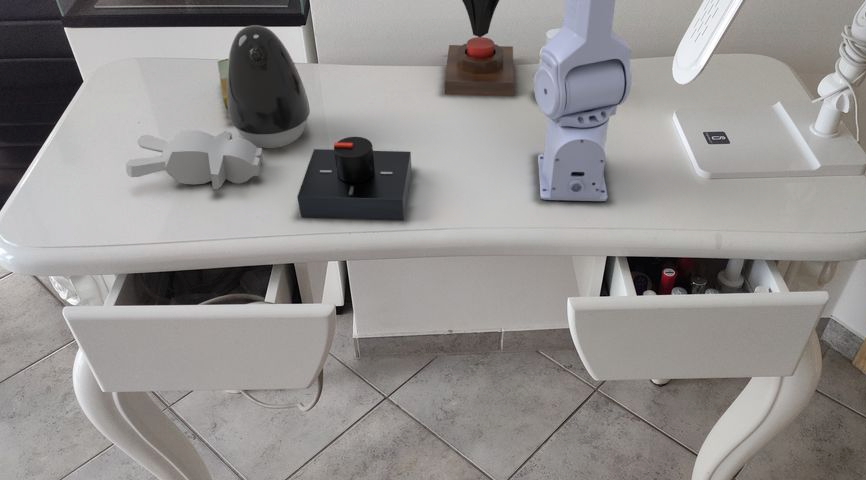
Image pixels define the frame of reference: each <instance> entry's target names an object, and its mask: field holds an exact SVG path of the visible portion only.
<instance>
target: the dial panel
mask: <svg viewBox="0 0 866 480" xmlns="http://www.w3.org/2000/svg"><path fill="white" fill-rule="evenodd" d="M373 157H374V168H375V173H374V175H373V177H372V178H370V179H369V180H367V181H364V182H361V183H348V182H345V181H343V180H341V179H340V178H339V177H338V175H337V168H336V161H335V153H334V149H328V148H327V149H326V148H324V149H323V148H314V149H313V151H312V154H311V157H310V160H309V162H308V165H307V168H306V170H305V174H304V176H303V179H302V182H301V185H300V188H299V191H298V192H297V193H298V194H297V197H296V199H297V202H298V208H299V213H300V217H301V218H312V219H313V218H314V219H347V220H377V221H379V220H380V221H383V220H384V221H385V220H386V221H404V220H405V216H406V209H407V204H408V197H409V192H410V191H409V190H410V186H411V178H412V172H413V168H412V167H413V166H412V152H411V151H402V150H399V151H398V150H373Z"/></svg>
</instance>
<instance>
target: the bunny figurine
mask: <svg viewBox="0 0 866 480" xmlns="http://www.w3.org/2000/svg"><path fill="white" fill-rule="evenodd" d="M232 134H233V133H232V132H229V131H223V132H221V133H219V134H217V135H215V136H213V135H211V134H209V133H208V132H205V131H200V130H191V129H189V130H181V131H179V132H178V133H177V134H176V135H174V137H172V138H171V139H170V140H169V141H166V140H163V139H162V138H158V137H155V136H153V135H149V134H145V135H144V134H143V135H141V136H140V137H139V138H137V144H138V146H139V148H141V149H144V150H149V151H154V152H157V153H161V154H160V156H149V157H139V158H133V159H129V160H128V161H127V160H126V162H125V167H126V168H125V169H126V175H127V176H128V177H130V178H139V177H143V176H147V175H151V174H154V173H158V172H162V171H165V172H166V174H168V175H169V176H171V177H172V178H173V179H174V180H175V181H176V183H178V184H179V183H180V184H183V185H204V184H207V183H209V182H211V185H212V189H213V190H214V189H220V188H221V187H222V185H223V184H224V183H225V181H226V180H227V181H229V182H231V183H232V184H240V185H241V184H243V183H247V182H248V181H249V180H250V179H251V178H253V177H254V176H255V177H256V176H257V177H258V176H259V175H260V172H261V166H262V163H263V160H264V154H263V147H258V146H255V145H253V144H252V143H251V142H250V141H248V140H246V139H244V138H243V137H233V135H232Z"/></svg>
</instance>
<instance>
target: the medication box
mask: <svg viewBox="0 0 866 480" xmlns="http://www.w3.org/2000/svg"><path fill="white" fill-rule="evenodd" d="M228 59H229V58H225V59H221V60H219V61H217V68H218V73H219V75H218V76H219V82H220V89H221V94H222V100H223V102H224V106H225V109H226V111H227V114H228V115H229V113H228V104H227V69H228Z"/></svg>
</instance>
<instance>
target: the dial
mask: <svg viewBox="0 0 866 480" xmlns="http://www.w3.org/2000/svg"><path fill="white" fill-rule="evenodd" d="M373 147H374V146H373V143H372V142H371V141H370V140H369V139H367V138H365V137H362V136H348V137H344V138H341V139H339V140H338V141H336V142H334V143H333V150H334V153H335V161H336V168H337V175H338V177H339V178H340V179H341V180H343V181H345V182H348V183H361V182H364V181H367V180H369V179H370V178H372V177H373V175H374V173H375V168H374V157H373V151H374V148H373Z"/></svg>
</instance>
